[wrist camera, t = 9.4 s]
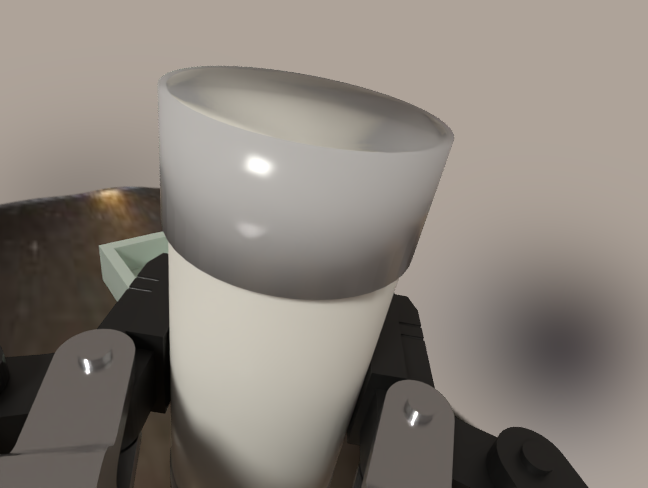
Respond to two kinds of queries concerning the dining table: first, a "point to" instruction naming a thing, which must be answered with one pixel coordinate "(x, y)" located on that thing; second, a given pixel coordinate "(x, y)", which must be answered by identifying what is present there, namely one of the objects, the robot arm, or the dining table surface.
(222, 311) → the fuse
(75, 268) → the dining table surface
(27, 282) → the dining table surface
